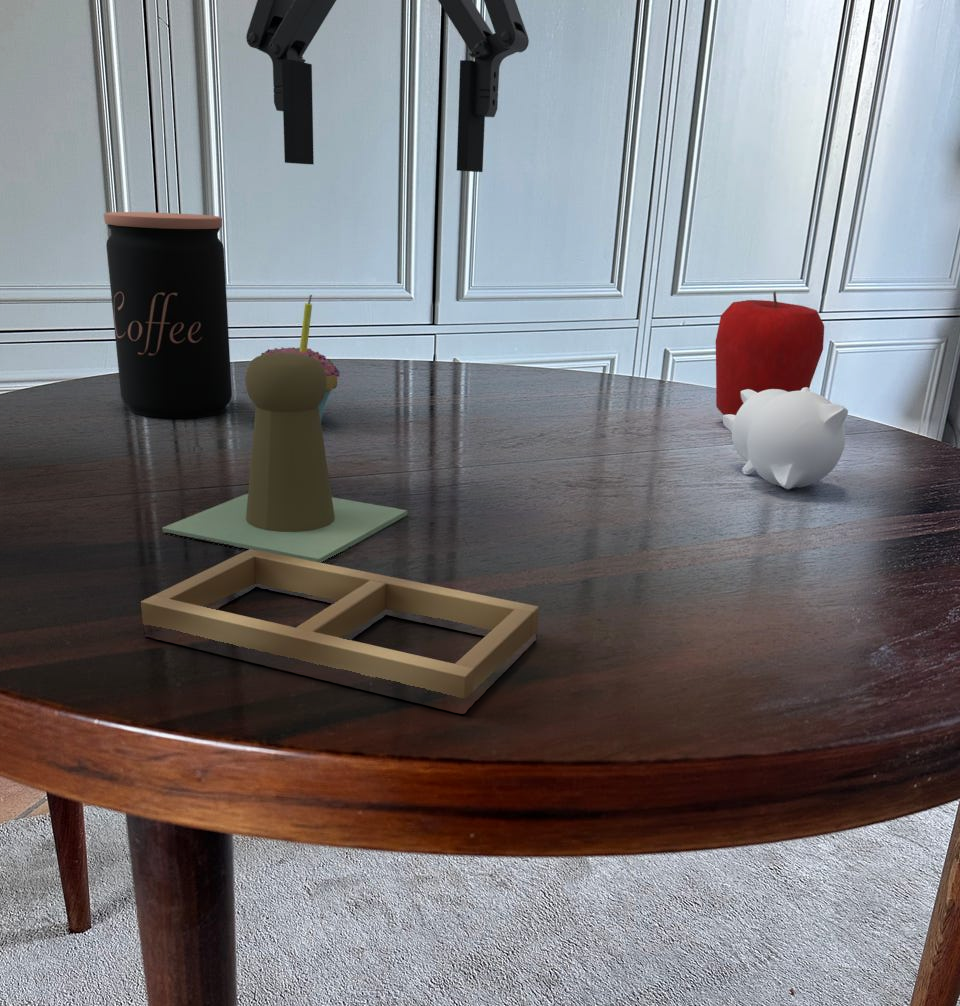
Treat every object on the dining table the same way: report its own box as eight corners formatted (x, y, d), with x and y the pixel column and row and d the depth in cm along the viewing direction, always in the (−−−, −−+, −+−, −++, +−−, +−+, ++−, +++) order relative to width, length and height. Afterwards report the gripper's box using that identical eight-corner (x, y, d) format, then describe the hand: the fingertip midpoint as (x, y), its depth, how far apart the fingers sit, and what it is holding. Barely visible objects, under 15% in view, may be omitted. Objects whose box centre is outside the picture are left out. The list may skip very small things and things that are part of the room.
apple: (702, 431, 104) (721, 291, 98) (706, 412, 113) (724, 283, 108) (810, 442, 102) (835, 299, 96) (805, 421, 111) (828, 290, 105)
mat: (162, 533, 68) (161, 527, 67) (266, 490, 78) (266, 485, 78) (319, 564, 63) (318, 558, 63) (407, 515, 74) (407, 510, 73)
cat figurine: (754, 354, 89) (818, 373, 78) (838, 421, 93) (910, 449, 82) (693, 438, 91) (746, 469, 80) (777, 501, 95) (840, 538, 84)
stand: (143, 637, 52) (140, 601, 52) (251, 580, 61) (250, 548, 60) (463, 716, 46) (465, 676, 45) (536, 640, 54) (539, 605, 54)
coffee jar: (99, 412, 100) (78, 212, 92) (161, 394, 109) (146, 211, 102) (197, 424, 97) (182, 219, 90) (252, 404, 106) (243, 217, 99)
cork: (294, 500, 74) (290, 344, 70) (353, 519, 71) (352, 356, 66) (227, 517, 70) (217, 352, 66) (286, 537, 67) (280, 365, 62)
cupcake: (352, 419, 102) (351, 292, 97) (317, 436, 95) (314, 300, 90) (273, 410, 104) (268, 286, 99) (233, 427, 96) (225, 293, 92)
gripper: (593, -205, 63) (566, 176, 71) (250, -174, 71) (263, 162, 80) (552, -251, 56) (527, 173, 65) (181, -212, 65) (203, 158, 73)
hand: (381, 168), depth 72 cm, fingers open, 13 cm apart
